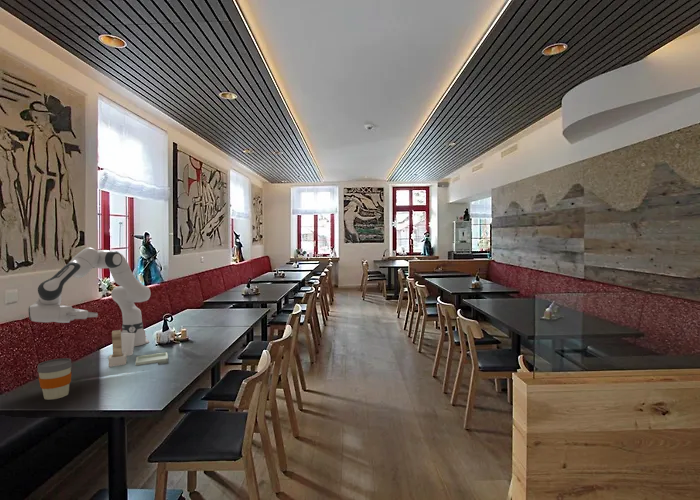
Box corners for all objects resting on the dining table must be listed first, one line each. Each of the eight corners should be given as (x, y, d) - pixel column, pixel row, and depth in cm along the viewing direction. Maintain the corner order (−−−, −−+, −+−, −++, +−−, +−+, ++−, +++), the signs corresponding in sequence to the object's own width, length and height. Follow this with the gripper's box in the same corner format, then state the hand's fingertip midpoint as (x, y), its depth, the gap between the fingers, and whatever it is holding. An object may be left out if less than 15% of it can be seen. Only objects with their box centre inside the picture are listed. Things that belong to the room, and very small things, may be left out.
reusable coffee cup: (53, 390, 192) (51, 358, 192) (79, 390, 192) (78, 357, 191) (31, 401, 180) (29, 366, 179) (59, 401, 179) (58, 366, 179)
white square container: (110, 364, 231) (110, 354, 231) (126, 362, 234) (126, 352, 234) (108, 368, 224) (108, 358, 223) (125, 366, 227) (125, 356, 227)
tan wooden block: (114, 363, 230) (112, 330, 229) (122, 362, 231) (120, 329, 231) (113, 365, 226) (111, 332, 226) (121, 363, 228) (120, 331, 227)
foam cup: (127, 359, 241) (126, 336, 240) (113, 358, 243) (112, 336, 242) (139, 354, 250) (138, 332, 250) (125, 353, 252) (124, 332, 252)
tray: (136, 360, 237) (136, 356, 237) (167, 356, 244) (167, 352, 244) (135, 367, 224) (135, 362, 224) (168, 362, 231) (167, 358, 231)
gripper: (66, 308, 209) (98, 309, 216) (68, 307, 226) (98, 308, 233) (64, 321, 208) (96, 322, 215) (67, 319, 226) (96, 319, 233)
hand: (97, 314), depth 224 cm, fingers open, 8 cm apart
